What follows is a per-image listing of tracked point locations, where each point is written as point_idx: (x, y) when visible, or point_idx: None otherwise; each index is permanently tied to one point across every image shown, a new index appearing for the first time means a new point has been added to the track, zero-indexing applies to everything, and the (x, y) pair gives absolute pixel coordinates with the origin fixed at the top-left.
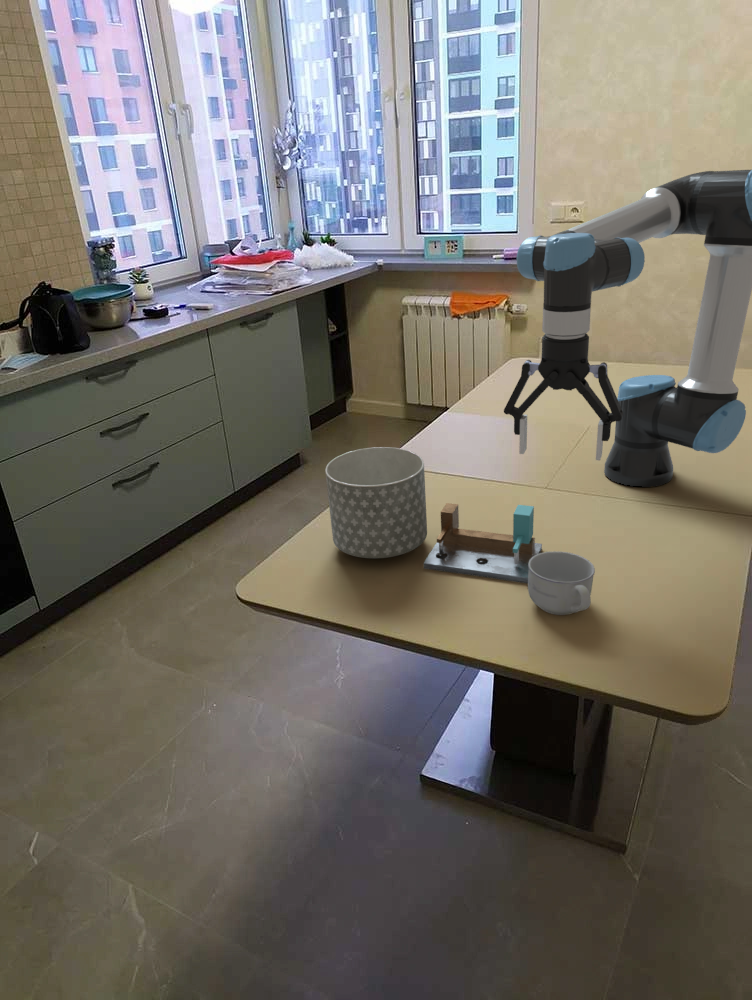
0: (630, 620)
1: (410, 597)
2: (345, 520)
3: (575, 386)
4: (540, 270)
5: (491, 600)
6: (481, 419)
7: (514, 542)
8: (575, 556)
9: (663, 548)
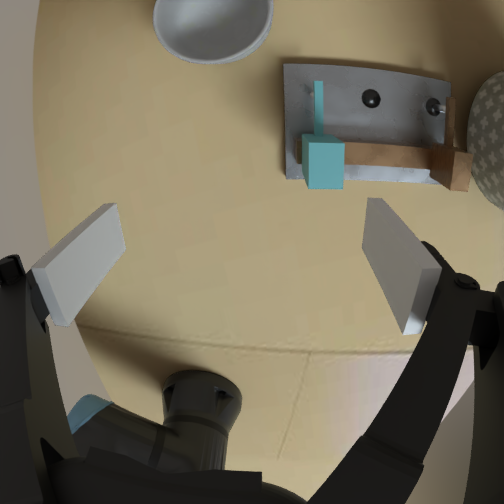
0: (124, 31)
1: (436, 7)
2: None
3: (26, 457)
4: None
5: (326, 9)
6: None
7: None
8: (194, 58)
9: None
